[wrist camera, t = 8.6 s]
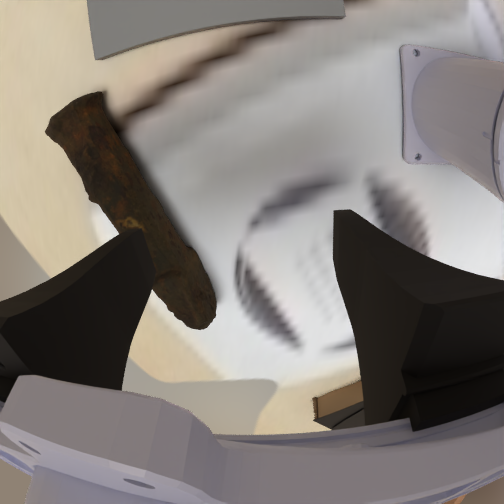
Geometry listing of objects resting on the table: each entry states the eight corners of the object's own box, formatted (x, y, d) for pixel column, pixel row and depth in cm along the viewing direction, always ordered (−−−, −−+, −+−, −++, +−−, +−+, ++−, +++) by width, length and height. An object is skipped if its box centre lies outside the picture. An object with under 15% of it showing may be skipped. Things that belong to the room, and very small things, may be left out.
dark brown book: (564, 272, 18) (550, 361, 28) (544, 250, 22) (540, 343, 31) (312, 422, 31) (383, 455, 41) (309, 393, 34) (380, 435, 44)
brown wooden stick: (66, 116, 17) (26, 133, 14) (106, 85, 16) (67, 94, 13) (189, 308, 27) (178, 348, 23) (229, 296, 26) (222, 338, 22)
